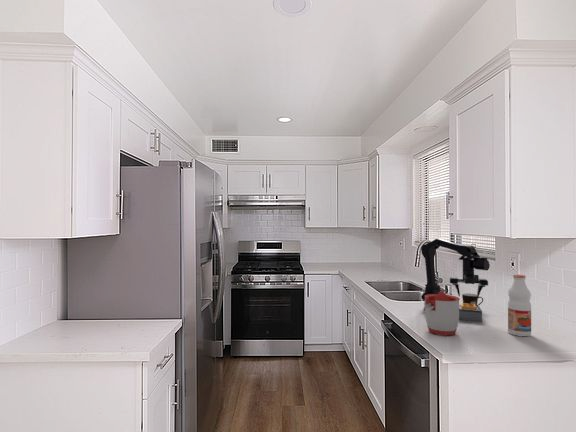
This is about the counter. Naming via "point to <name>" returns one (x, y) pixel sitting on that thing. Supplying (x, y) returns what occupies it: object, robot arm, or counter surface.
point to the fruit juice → (519, 308)
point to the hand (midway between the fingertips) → (468, 296)
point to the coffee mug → (470, 298)
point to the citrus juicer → (442, 313)
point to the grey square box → (470, 312)
